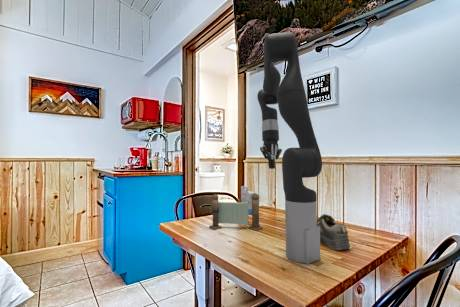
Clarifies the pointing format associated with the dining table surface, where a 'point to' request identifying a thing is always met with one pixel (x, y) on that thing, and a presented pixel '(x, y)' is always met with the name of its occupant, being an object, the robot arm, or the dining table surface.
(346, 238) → the hiking shoe
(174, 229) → the dining table surface
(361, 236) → the dining table surface
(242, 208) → the gate
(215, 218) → the post
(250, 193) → the ink box
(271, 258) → the dining table surface
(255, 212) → the hinge post
